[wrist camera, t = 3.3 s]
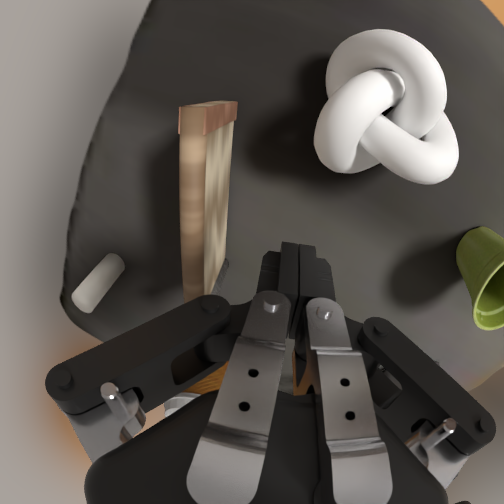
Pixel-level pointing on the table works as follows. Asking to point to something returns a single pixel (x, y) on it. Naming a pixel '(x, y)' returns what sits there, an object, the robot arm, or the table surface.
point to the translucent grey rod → (220, 277)
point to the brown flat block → (204, 191)
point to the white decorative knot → (378, 100)
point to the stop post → (98, 282)
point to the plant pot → (483, 275)
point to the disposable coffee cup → (196, 390)
